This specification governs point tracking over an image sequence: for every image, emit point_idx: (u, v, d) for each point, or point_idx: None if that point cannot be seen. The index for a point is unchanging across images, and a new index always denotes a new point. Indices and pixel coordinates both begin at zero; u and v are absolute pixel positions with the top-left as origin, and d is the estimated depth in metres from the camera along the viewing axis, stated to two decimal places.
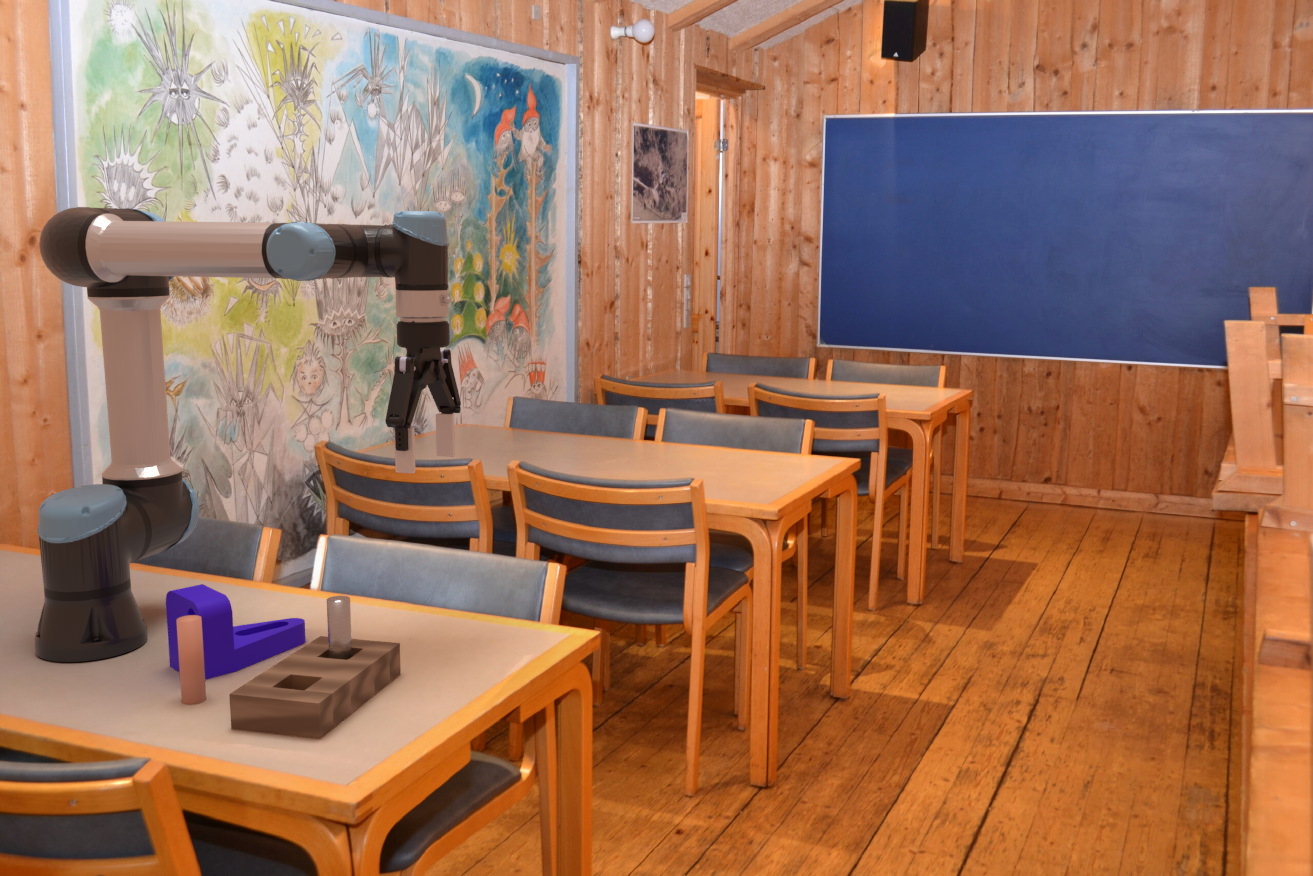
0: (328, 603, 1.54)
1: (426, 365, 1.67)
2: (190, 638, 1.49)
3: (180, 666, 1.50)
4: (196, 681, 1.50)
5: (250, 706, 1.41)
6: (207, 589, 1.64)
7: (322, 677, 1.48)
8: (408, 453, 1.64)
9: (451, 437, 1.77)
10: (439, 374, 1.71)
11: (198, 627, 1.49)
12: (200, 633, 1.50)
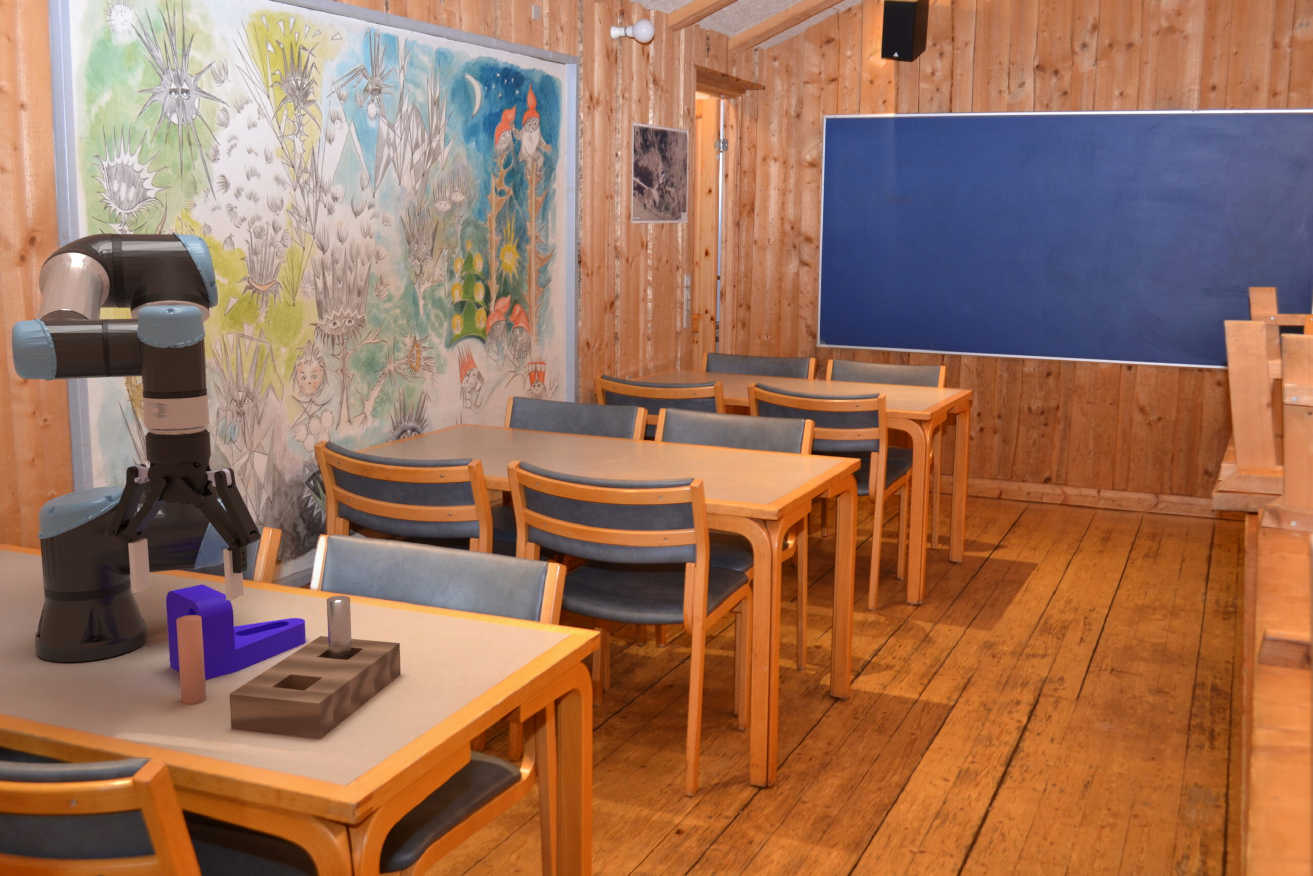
0: (328, 603, 1.54)
1: None
2: (190, 638, 1.49)
3: (180, 666, 1.50)
4: (196, 681, 1.50)
5: (250, 706, 1.41)
6: (207, 589, 1.63)
7: (322, 677, 1.48)
8: None
9: (225, 577, 1.46)
10: None
11: (198, 627, 1.49)
12: (200, 633, 1.50)
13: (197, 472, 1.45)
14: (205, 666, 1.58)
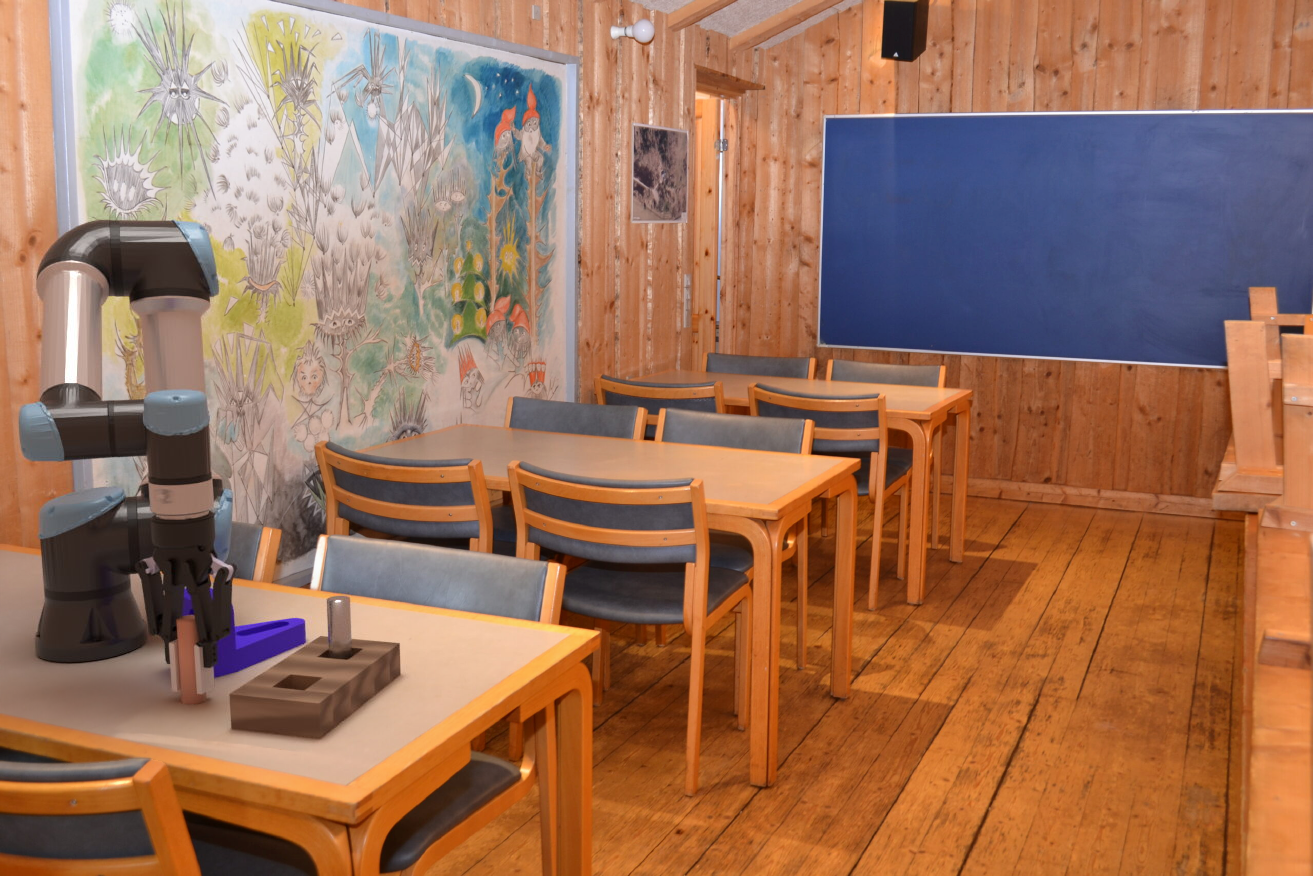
0: (328, 603, 1.54)
1: None
2: (190, 638, 1.49)
3: (180, 666, 1.50)
4: None
5: (250, 706, 1.41)
6: None
7: (322, 677, 1.48)
8: None
9: (196, 671, 1.49)
10: None
11: None
12: None
13: (204, 557, 1.47)
14: None
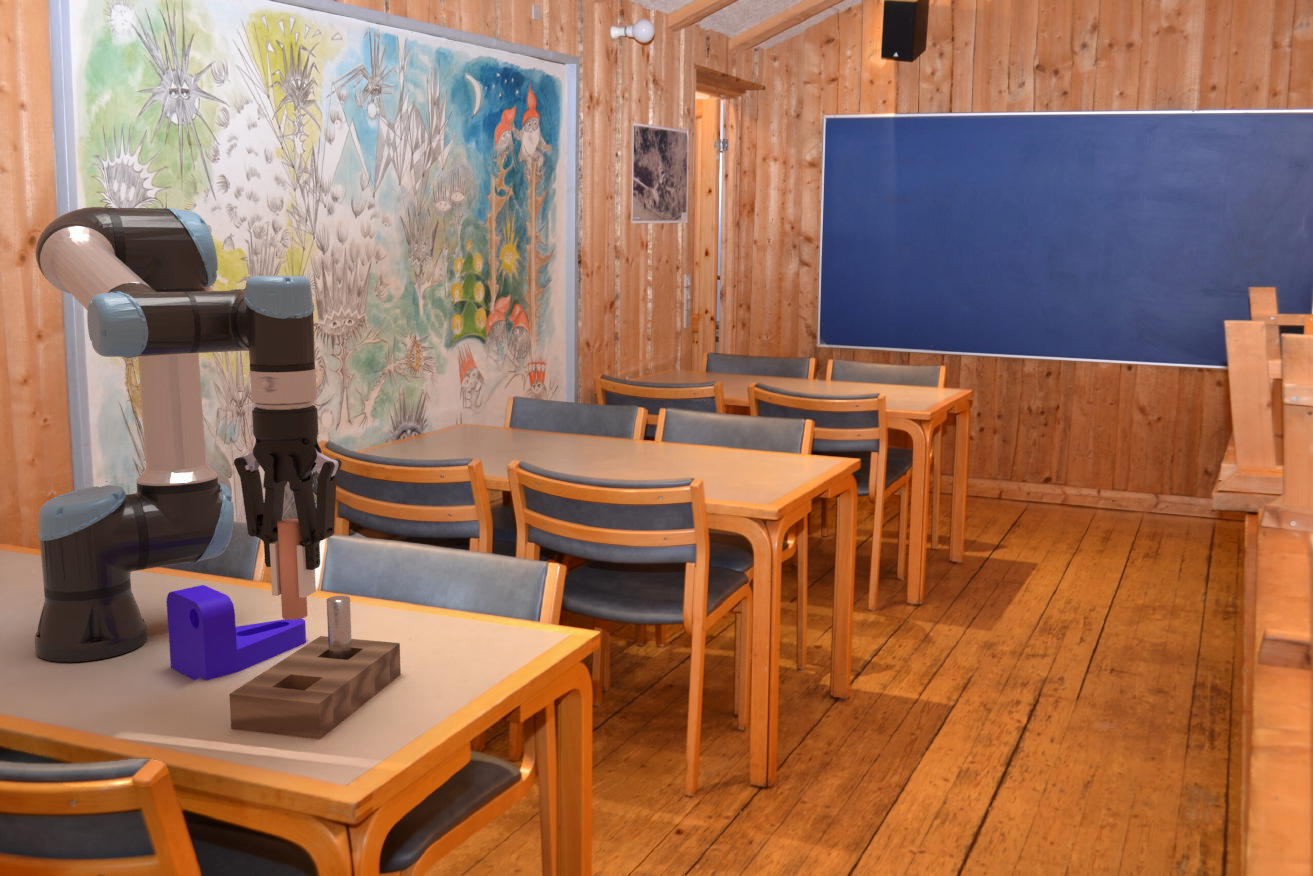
0: (328, 603, 1.54)
1: None
2: (292, 541, 1.41)
3: (281, 571, 1.42)
4: (297, 587, 1.42)
5: (250, 706, 1.41)
6: (208, 590, 1.63)
7: (322, 677, 1.48)
8: None
9: (298, 573, 1.42)
10: (288, 474, 1.40)
11: None
12: None
13: (308, 451, 1.39)
14: (207, 666, 1.58)
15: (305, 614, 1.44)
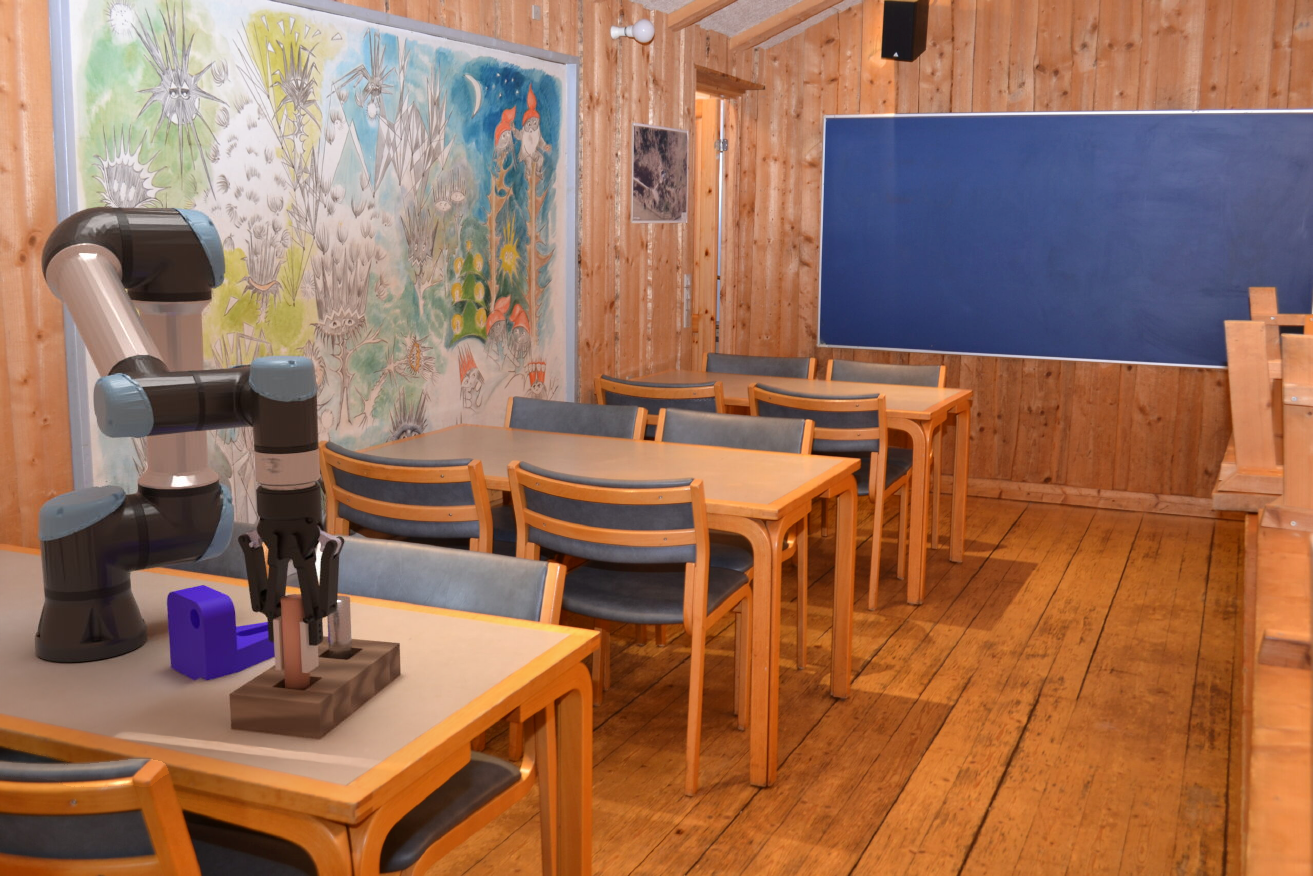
0: None
1: None
2: (295, 618, 1.43)
3: (284, 647, 1.44)
4: (300, 663, 1.44)
5: (250, 706, 1.41)
6: (209, 590, 1.63)
7: (322, 677, 1.48)
8: None
9: (301, 649, 1.43)
10: None
11: None
12: None
13: (312, 529, 1.41)
14: (207, 667, 1.58)
15: None
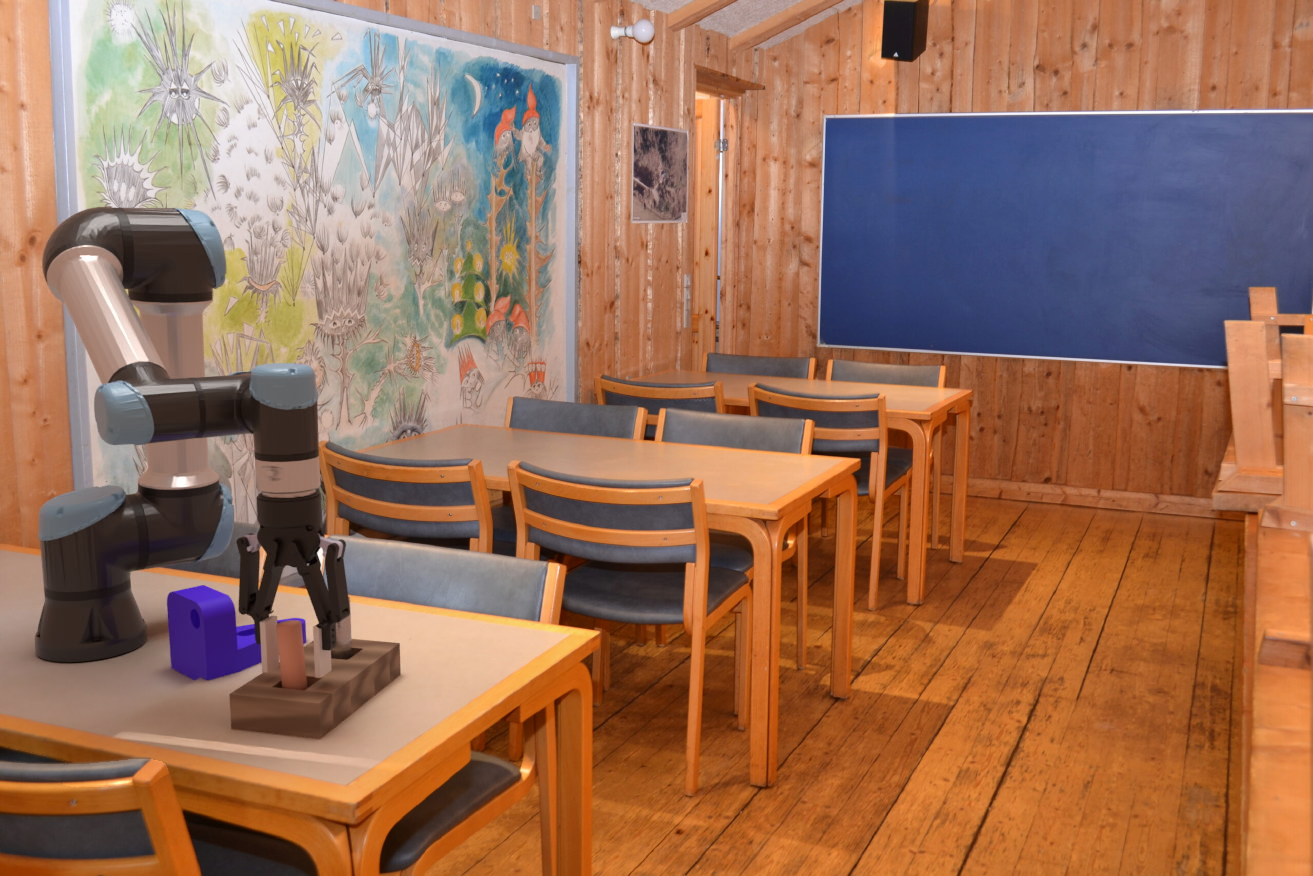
0: None
1: None
2: (291, 644, 1.44)
3: (282, 673, 1.45)
4: (299, 688, 1.45)
5: (250, 706, 1.41)
6: (209, 590, 1.63)
7: (322, 677, 1.48)
8: None
9: (314, 654, 1.43)
10: None
11: (299, 632, 1.44)
12: (301, 638, 1.45)
13: (311, 536, 1.41)
14: (208, 666, 1.58)
15: None
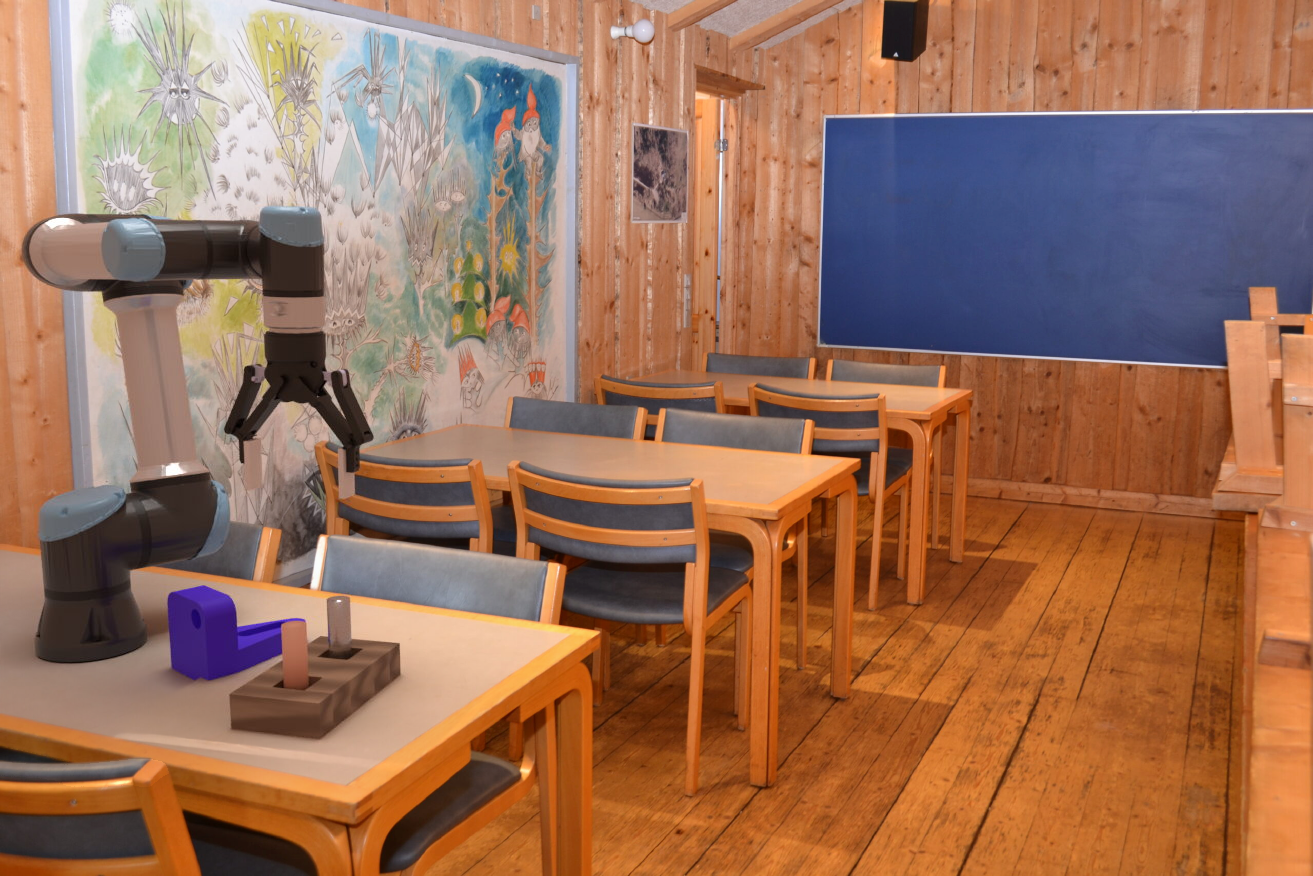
0: (328, 603, 1.54)
1: None
2: (296, 645, 1.44)
3: (284, 674, 1.45)
4: (300, 689, 1.45)
5: (250, 706, 1.41)
6: (209, 590, 1.63)
7: (322, 677, 1.48)
8: None
9: (338, 475, 1.48)
10: None
11: (304, 633, 1.44)
12: (305, 639, 1.45)
13: (314, 372, 1.47)
14: (209, 667, 1.58)
15: None
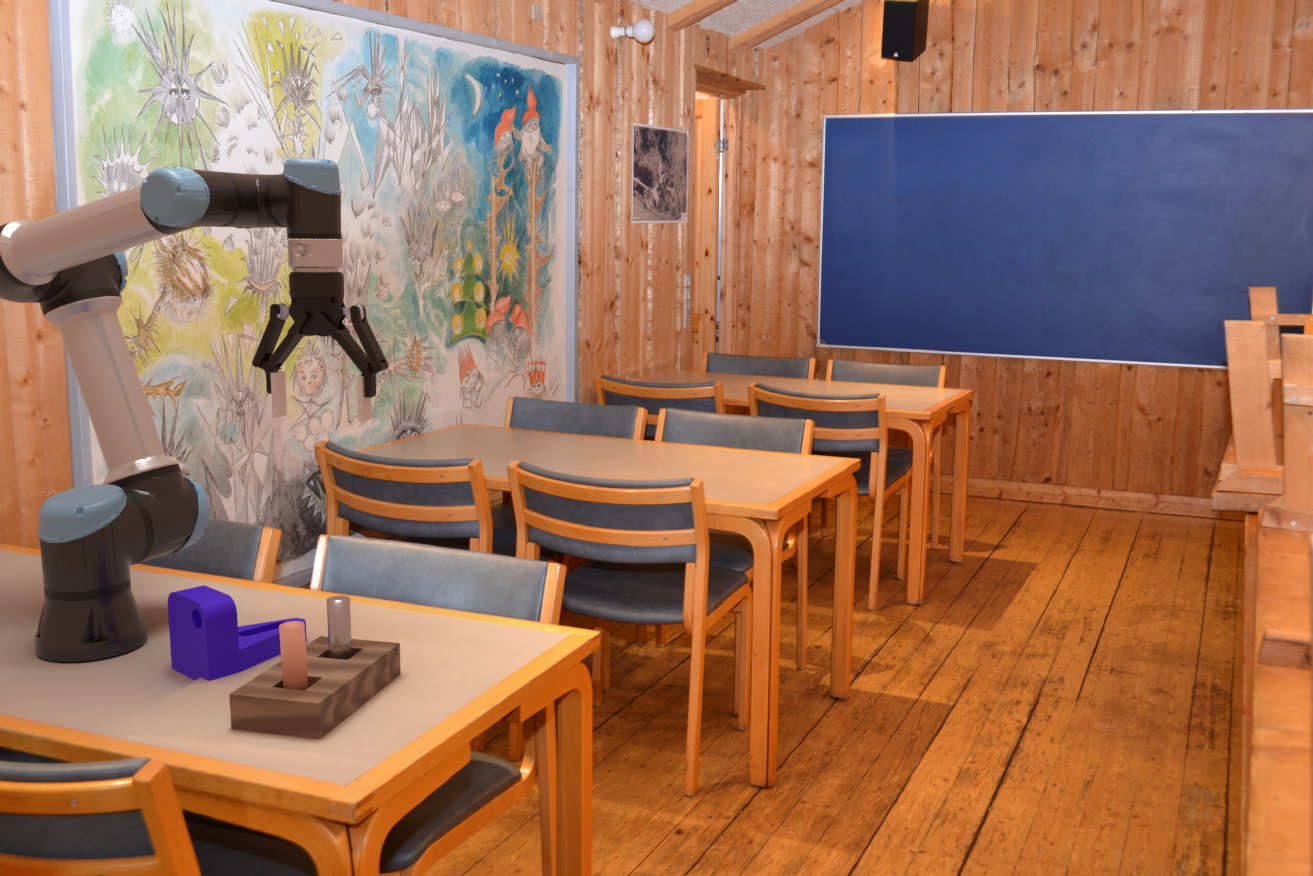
0: (328, 603, 1.54)
1: None
2: (294, 645, 1.43)
3: (283, 674, 1.44)
4: (300, 689, 1.45)
5: (250, 706, 1.41)
6: (210, 590, 1.63)
7: (322, 677, 1.48)
8: None
9: None
10: (325, 328, 1.65)
11: (302, 633, 1.44)
12: (303, 640, 1.45)
13: (334, 307, 1.64)
14: (210, 667, 1.58)
15: None
